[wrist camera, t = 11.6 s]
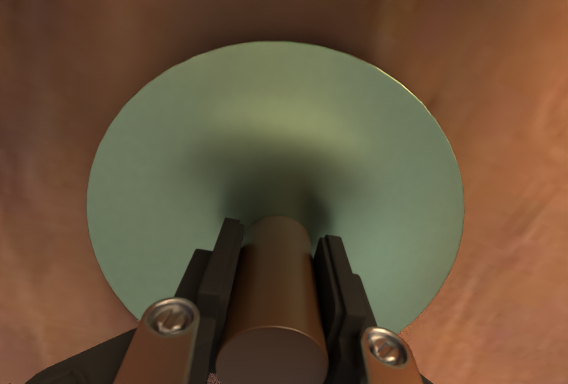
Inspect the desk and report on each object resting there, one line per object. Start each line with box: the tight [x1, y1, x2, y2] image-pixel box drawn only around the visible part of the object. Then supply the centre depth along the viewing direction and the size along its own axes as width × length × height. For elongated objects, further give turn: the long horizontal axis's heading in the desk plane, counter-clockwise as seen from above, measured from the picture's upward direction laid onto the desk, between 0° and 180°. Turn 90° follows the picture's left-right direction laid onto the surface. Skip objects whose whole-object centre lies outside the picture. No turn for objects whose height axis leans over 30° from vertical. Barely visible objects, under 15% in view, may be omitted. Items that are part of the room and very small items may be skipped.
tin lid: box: [86, 41, 465, 384], centre depth 11 cm, size 15×15×7 cm
